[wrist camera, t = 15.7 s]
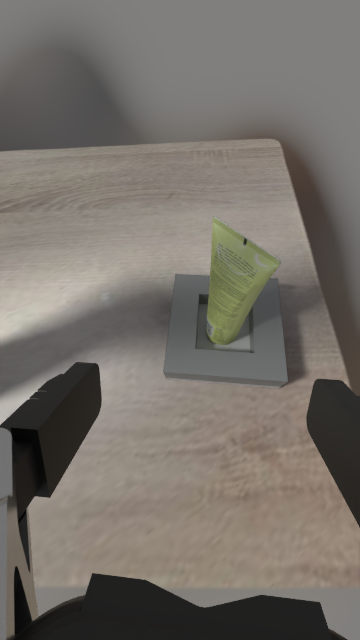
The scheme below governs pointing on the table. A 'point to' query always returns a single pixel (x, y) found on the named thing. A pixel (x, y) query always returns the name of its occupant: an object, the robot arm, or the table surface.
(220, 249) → the tube
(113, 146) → the table surface
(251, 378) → the holder
